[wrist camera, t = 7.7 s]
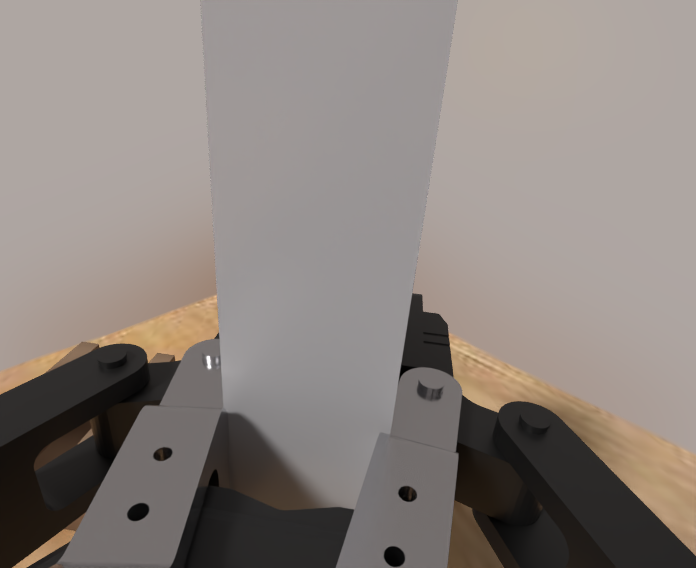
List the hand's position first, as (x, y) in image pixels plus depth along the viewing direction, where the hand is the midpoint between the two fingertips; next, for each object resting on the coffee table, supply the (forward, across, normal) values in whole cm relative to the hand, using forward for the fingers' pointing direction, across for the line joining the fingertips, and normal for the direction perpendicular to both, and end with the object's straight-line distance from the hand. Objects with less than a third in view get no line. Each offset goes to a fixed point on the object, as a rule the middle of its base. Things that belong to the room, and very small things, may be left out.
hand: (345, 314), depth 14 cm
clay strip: (-3, 0, +8) cm, 9 cm away
